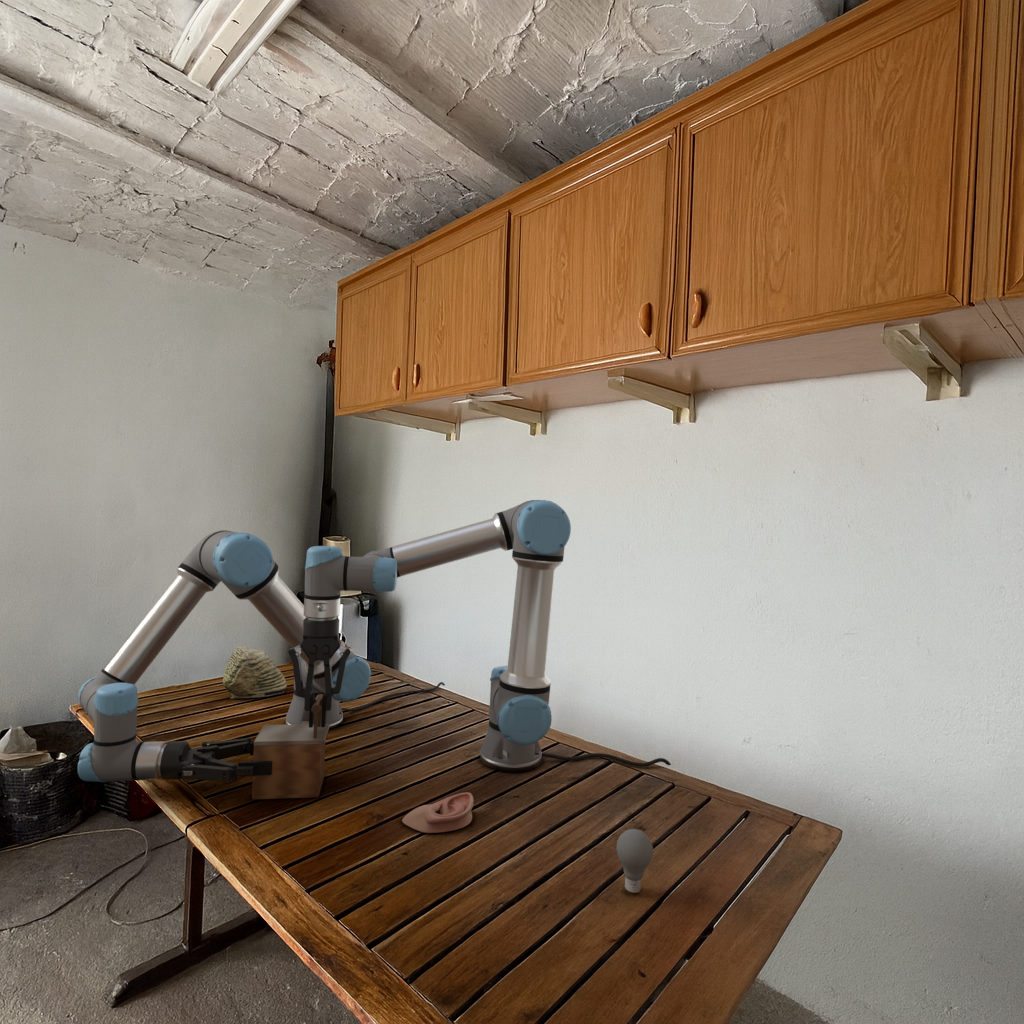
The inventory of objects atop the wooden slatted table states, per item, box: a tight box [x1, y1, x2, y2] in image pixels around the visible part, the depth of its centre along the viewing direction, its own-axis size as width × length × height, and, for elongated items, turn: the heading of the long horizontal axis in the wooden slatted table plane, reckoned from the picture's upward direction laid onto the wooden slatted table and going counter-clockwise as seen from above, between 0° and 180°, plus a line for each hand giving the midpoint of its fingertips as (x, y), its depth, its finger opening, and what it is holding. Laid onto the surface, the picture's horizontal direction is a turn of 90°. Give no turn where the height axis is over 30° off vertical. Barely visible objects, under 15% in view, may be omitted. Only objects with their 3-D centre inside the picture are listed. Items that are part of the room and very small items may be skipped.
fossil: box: [222, 646, 288, 699], centre depth 198 cm, size 9×18×15 cm, turn 132°
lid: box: [253, 694, 330, 746], centre depth 137 cm, size 14×10×8 cm
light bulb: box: [615, 828, 654, 894], centre depth 106 cm, size 6×6×10 cm
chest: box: [251, 742, 326, 800], centre depth 137 cm, size 13×10×11 cm
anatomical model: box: [401, 791, 474, 834], centre depth 126 cm, size 13×4×12 cm
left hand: (276, 757), depth 137 cm, fingers closed on chest, 10 cm apart
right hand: (317, 724), depth 138 cm, fingers closed on lid, 2 cm apart
